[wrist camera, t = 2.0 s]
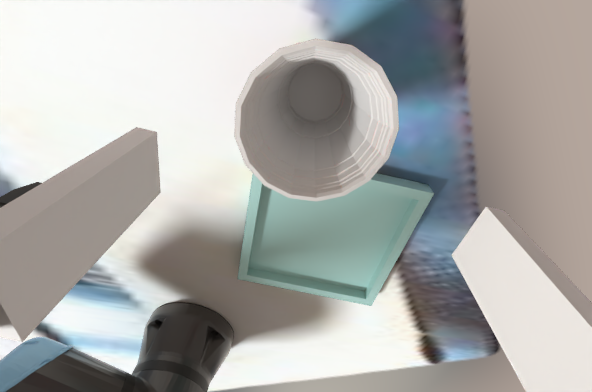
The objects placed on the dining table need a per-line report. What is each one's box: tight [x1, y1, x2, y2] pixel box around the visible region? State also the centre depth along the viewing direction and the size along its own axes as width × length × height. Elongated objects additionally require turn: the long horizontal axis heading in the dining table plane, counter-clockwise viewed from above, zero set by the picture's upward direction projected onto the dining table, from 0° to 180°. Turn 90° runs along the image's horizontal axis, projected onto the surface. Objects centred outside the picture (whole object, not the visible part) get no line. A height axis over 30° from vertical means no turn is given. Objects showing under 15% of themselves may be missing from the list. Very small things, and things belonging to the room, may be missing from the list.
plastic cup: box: [234, 39, 399, 202], centre depth 23 cm, size 11×11×12 cm
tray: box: [238, 173, 434, 306], centre depth 37 cm, size 20×20×2 cm
